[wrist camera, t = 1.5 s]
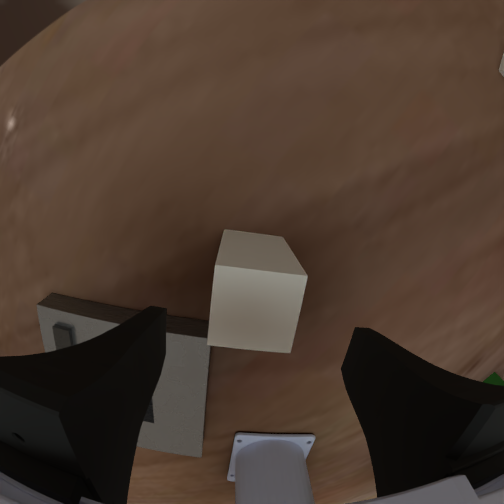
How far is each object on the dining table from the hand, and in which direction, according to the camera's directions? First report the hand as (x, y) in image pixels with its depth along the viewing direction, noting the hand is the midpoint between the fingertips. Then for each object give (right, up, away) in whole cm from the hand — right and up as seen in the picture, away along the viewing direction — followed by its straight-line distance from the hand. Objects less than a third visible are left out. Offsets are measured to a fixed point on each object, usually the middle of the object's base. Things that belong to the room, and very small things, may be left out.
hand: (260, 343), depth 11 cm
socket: (-11, -8, +13) cm, 18 cm away
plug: (-1, +3, +10) cm, 11 cm away
